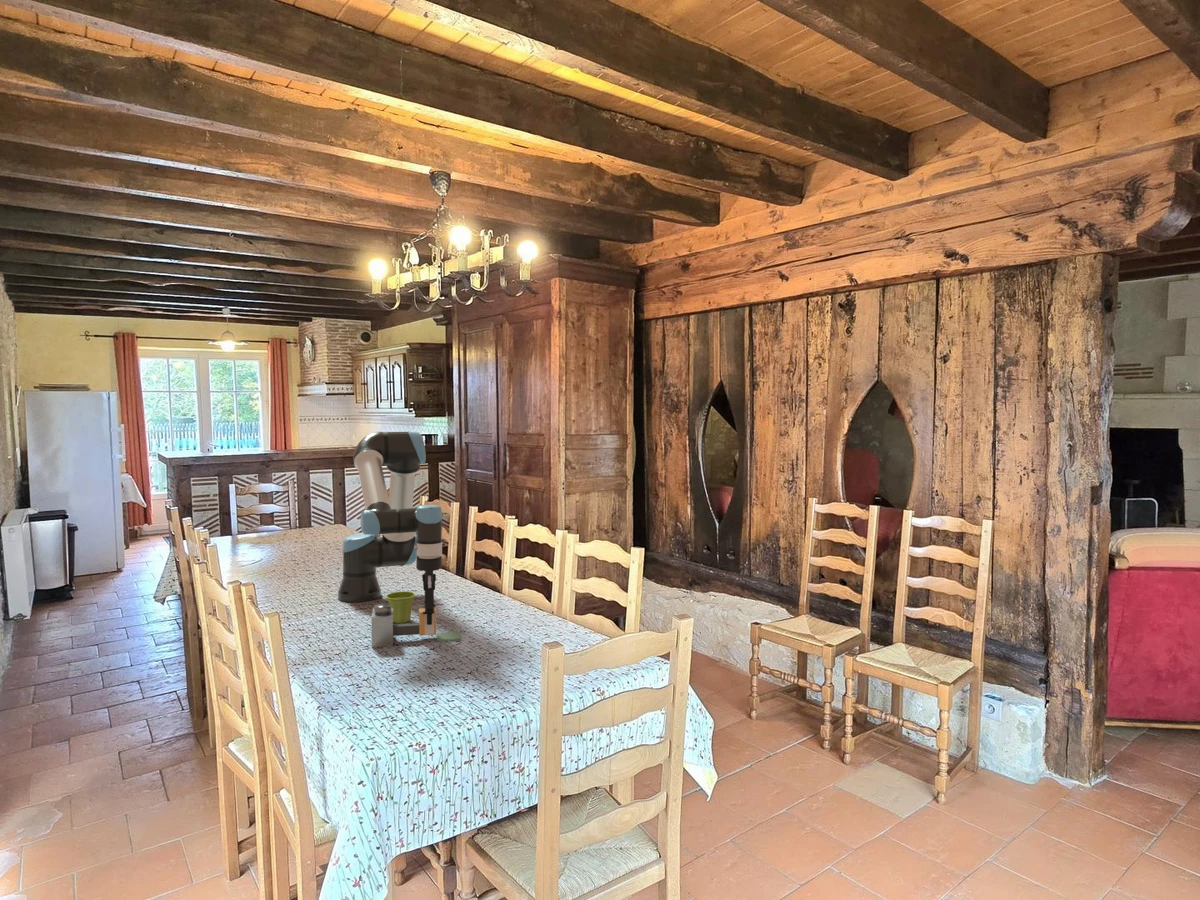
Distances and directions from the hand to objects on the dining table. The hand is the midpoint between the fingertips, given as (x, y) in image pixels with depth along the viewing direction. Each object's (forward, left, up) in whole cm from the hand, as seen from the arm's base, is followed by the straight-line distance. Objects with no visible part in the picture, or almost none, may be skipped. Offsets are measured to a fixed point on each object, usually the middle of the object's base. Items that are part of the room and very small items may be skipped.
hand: (429, 631), depth 216 cm
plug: (0, -6, 0) cm, 6 cm away
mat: (0, +6, -2) cm, 6 cm away
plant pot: (-21, -9, -2) cm, 23 cm away
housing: (0, -14, -2) cm, 14 cm away
